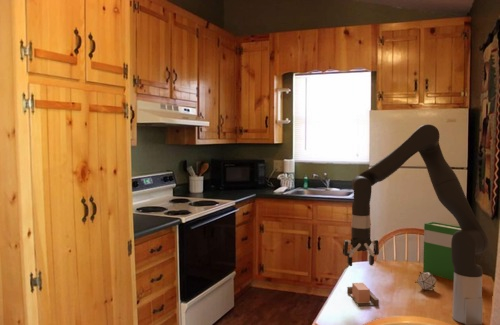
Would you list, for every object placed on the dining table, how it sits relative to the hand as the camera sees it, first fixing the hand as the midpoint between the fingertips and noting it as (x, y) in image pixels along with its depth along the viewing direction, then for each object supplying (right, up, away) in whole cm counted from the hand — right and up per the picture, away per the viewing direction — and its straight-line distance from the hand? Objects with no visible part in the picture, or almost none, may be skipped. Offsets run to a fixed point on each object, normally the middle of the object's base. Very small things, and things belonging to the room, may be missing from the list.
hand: (360, 265), depth 174 cm
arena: (+1, -14, +2) cm, 14 cm away
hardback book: (+48, -12, +31) cm, 59 cm away
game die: (+32, -14, +12) cm, 36 cm away
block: (0, -14, +1) cm, 14 cm away
